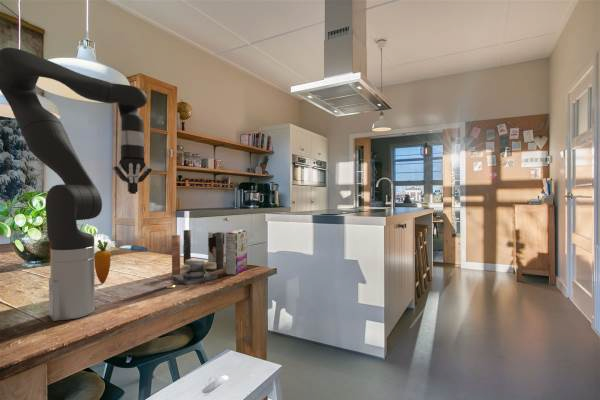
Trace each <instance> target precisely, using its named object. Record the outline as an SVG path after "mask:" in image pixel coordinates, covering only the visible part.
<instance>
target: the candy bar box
mask: <svg viewBox="0 0 600 400" xmlns="http://www.w3.org/2000/svg"><path fill="white" fill-rule="evenodd" d="M247 232H248V231H247V229H234V230H230V231H228V232H225V274H226V275H228V276H229V275H233V276H235V275H236V276H237V275H240V273H242V272H244V271H246V270H247V269H248V244H247V243H248V241H247V239H248V235H247V234H248V233H247Z"/></svg>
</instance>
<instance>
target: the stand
mask: <svg viewBox="0 0 600 400" xmlns="http://www.w3.org/2000/svg"><path fill="white" fill-rule="evenodd" d="M171 279H173V280H175V281H177V282H179V283H182V284H184V285H186V286H187V285H192V284H196V283H201V282H206V281H211V280H217V279H218V275H217V274H214V273H211V272H208V271H207V269H204V270H201V271H194V272H189V271H187V272H184V273H181V274H178V275H172V274H171ZM165 286H166V289H174V288H177V285H176V284H167V285H165Z"/></svg>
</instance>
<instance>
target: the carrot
mask: <svg viewBox="0 0 600 400" xmlns="http://www.w3.org/2000/svg"><path fill="white" fill-rule="evenodd" d="M97 243H98V244H97V248H98V249H99V250H97V251H96V252H94V271H95V274H96V277H97V278H98V280H99V282H100V283H101V284H105V282H107V279H108V276H109V274H110V268H111V262H112V261H111V257H112V254H111V251H110V250H106V249H107V247H108V245H109V242H108V241H103V242H102V241H101V239H98V240H97Z"/></svg>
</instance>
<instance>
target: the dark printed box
mask: <svg viewBox="0 0 600 400" xmlns="http://www.w3.org/2000/svg"><path fill="white" fill-rule="evenodd" d="M216 232H223V268H222V269H225V256H226V240H225V239H226V238H225V233H226V232H225V231H223V230H212V231H208V232H207V233H208V234H207V235H208V236H207V237H208V238H207V252H208V253H207V262H216Z"/></svg>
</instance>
